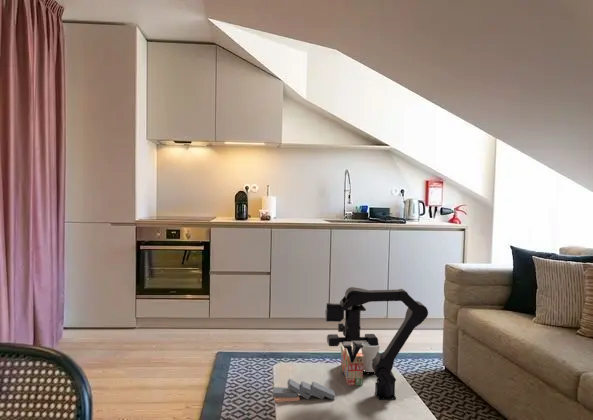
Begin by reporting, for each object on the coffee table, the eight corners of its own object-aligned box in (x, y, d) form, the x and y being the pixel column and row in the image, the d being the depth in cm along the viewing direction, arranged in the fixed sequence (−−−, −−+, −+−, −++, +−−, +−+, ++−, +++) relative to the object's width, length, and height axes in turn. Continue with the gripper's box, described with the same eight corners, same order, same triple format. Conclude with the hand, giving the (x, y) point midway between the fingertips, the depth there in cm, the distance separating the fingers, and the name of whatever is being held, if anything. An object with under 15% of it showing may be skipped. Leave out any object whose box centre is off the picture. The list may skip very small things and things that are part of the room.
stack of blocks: (340, 364, 203) (341, 337, 202) (354, 364, 203) (355, 337, 202) (347, 385, 181) (348, 355, 181) (363, 385, 182) (363, 355, 181)
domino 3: (309, 390, 173) (289, 378, 173) (310, 396, 169) (290, 384, 168) (307, 393, 174) (287, 381, 173) (308, 399, 169) (287, 387, 168)
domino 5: (333, 390, 174) (312, 381, 173) (335, 396, 169) (313, 386, 168) (332, 394, 174) (310, 384, 173) (333, 400, 169) (311, 390, 168)
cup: (382, 369, 198) (382, 342, 197) (375, 375, 191) (375, 347, 190) (365, 365, 202) (365, 339, 201) (357, 371, 195) (358, 344, 195)
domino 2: (296, 391, 173) (273, 394, 171) (299, 397, 168) (275, 399, 166) (296, 396, 173) (273, 398, 171) (299, 401, 168) (275, 404, 166)
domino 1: (296, 387, 173) (273, 387, 173) (296, 393, 168) (272, 392, 168) (296, 392, 173) (273, 391, 173) (296, 397, 168) (272, 397, 168)
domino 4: (322, 389, 174) (301, 381, 173) (324, 395, 169) (303, 386, 168) (321, 393, 174) (300, 384, 173) (322, 399, 169) (301, 390, 168)
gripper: (371, 315, 180) (370, 353, 181) (325, 315, 178) (324, 354, 179) (379, 323, 169) (378, 364, 170) (329, 324, 167) (328, 365, 168)
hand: (351, 362), depth 172 cm, fingers closed
